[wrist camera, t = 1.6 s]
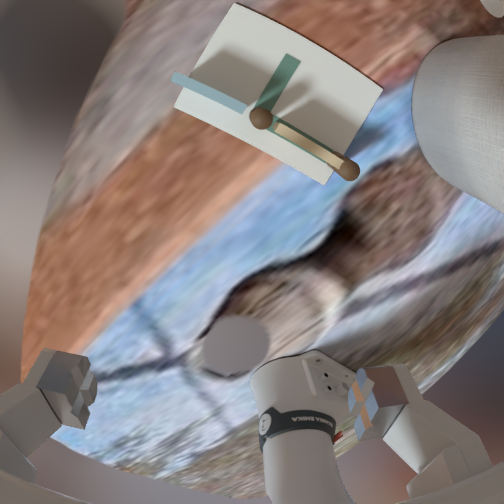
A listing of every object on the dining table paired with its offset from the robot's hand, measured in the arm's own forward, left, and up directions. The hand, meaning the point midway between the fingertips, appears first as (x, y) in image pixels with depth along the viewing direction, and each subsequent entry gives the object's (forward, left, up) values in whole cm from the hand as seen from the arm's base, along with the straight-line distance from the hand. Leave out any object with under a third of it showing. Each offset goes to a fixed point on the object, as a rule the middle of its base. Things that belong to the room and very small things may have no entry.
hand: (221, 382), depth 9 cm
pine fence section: (-5, -6, -33) cm, 34 cm away
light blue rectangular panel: (+6, -6, -32) cm, 33 cm away
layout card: (-1, -10, -33) cm, 35 cm away
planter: (-25, -24, -33) cm, 48 cm away
